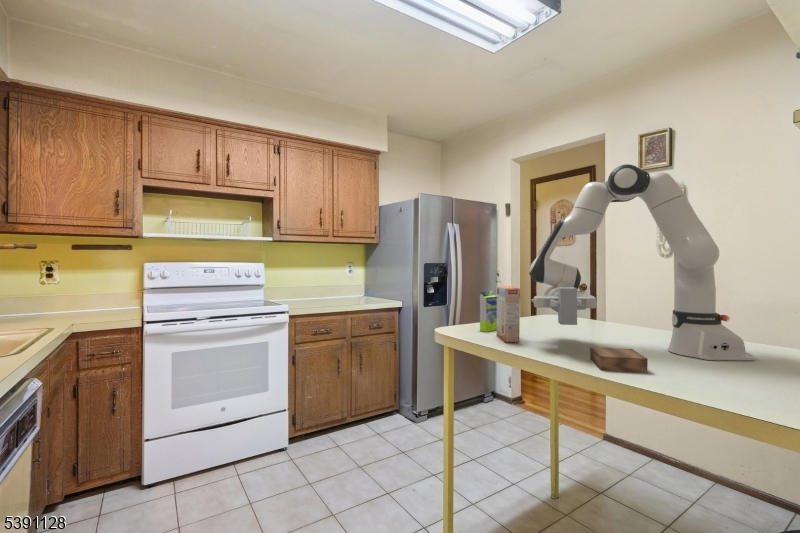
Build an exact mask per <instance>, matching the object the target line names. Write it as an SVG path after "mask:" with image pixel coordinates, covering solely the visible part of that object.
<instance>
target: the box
mask: <svg viewBox="0 0 800 533" xmlns="http://www.w3.org/2000/svg"><path fill="white" fill-rule="evenodd" d="M493 331H497V294H496V295H494V290H489V291H488V290H487V291H479V332H485V333H487V332H493Z"/></svg>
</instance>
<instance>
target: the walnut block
mask: <svg viewBox="0 0 800 533" xmlns="http://www.w3.org/2000/svg"><path fill="white" fill-rule="evenodd" d="M589 360H590V361H591V362H592V363H593V364H594V365H595V366H596V367H597V368H598V369H599V371H607V372H626V373H627V372H628V373H642V374H648V358H647V357H646V356H644V355H643V354H641V353H639V352H638V351H637V350H634V349H633V348H623V347H621V348H620V347H600V346H599V347H598V346H589Z"/></svg>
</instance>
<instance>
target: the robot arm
mask: <svg viewBox="0 0 800 533" xmlns="http://www.w3.org/2000/svg"><path fill="white" fill-rule="evenodd" d="M635 198H640V199H641V200H642V201H643V202H644V203H645V205H646V207H647V209H648V210H649V212H650V214H651V215H652V216H651V217H653V218H652V219H653V221H654V222H655V223H656V226H657V227H658V229H659V231H660V233H661V234H662V235H663V238H665V241H666V243H667V244H668V246H669V248H670V249H671V251H672V253H673V280H674V282H673V284H674V291H673V292H674V298H673V299H674V301H673V302H674V303H673V305H674V307H673V310H672V315H671V322H672V324H671V325H672V334H671V338H670V342H669V345H668V348H667V351H668V352H670V353H673V354H676V355H681V356H685V357H690V358H697V359H701V360H706V361H755V360H756V357H755V356H754V354H751V353H749V352H746V346H745V342H744V340H743V338H742V337H741V336H739V335H738V334H737V333H735V332H733V331H732V330H730V329H729V328H728V327H727V326H725V325H724V324H723V322H726V323H727V322H729V321H730V320H731V319H730V316H728V315H726V314H719V313H717V312H716V308H717V307H716V306H717V305H716V303H717V296H716V295H717V287H716V279H715V267H714V265H715V264H716V263H717V262H718V260H719V257H720V249H719V247H718V245H717V243H716V241H715V240H714V238H713V237H712V235H711V234H710V232H709V231H708V230H707V228H706V226H705V225H704V223H703V222H702V221H701V220H700V218H699V216H698V215H697V213H696V212H695V210H694V208H693V206H692V205H691V203H690V201H689V200H688V198H687V196H686V195H685V193H684V191H683V189H682V188H681V186H680V185H679V184H678V182H677V181H676V180H675V179H674V178H673V177H672V175H670V174H669V173H667V172H664V171H663V172H656V173H652V174H651V175H650V173H649V172H647V171H645V170H644V169H642V168H640V167H638V166H635V165H633V164H622V165H619V166H617V167H615V168H614V169H613V170H612V171H611V172H610V173H609V175H608V178H607V180H606V181H603V182H600V181H590V182H588V183H586V184H585V185H584V186H583V187H582V189H581V191H580V193H579V194H578V196H577V198H576V200H575V203H574V205H573V207H572V210H571V212H570V213H569V214H568V215H567V217H565V218H560V220H559V221H558V222H557V223H555V226H554V227H553V229H552V231H551V232H550V234H549V236H548V237H547V239H546V241H545V242H544V244H543V246H542V247H541V249H540V250H539V253H538V254H537V256H536V257H535V259H534V260H533V261H532V262H531V264H530V267H529V271H528V274H529V276H530V278H531V279H532V281H533V282H535V283H540V284H545V285H547V286H550V287H548V288H546V289H545V291H544V293H543V295H535V296H534V297H533V298H532V299H531V300H530V301H531V303H533V306H534V308H542V309H543V308H545V309H548V308H549V309H551V310H553V311H555V312H557V313H558V307H560V305H559V304H560V302H559V301H558V287H574V288H577V311H582V310H587V309H596V308H597V298H596V297H595V296H593V295H592V294H588V293H587V291H582V290H578V289H579V287H580V284H581V282H582V276H581V272H580V270H579V268H578V267H576V266H573V265H571V264H567V263H564V262H560V261H556V260H553V259H551V256H552V254H553V252H554V250H555V249H556V248H557V246H558V243H559V242H560V241H561V239H563V238H565V237H568V236H580V235H589V234H591V233H594V232H595V231H596V230H598V229H599V228H600V225H601V224H602V222H603V219H604V217H605V215H606V212H607V210H608V208H609V205H610V204H611V203H624V202H629V201H632V200H633V199H635ZM722 321H723V322H722Z"/></svg>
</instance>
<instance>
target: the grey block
mask: <svg viewBox="0 0 800 533" xmlns="http://www.w3.org/2000/svg"><path fill="white" fill-rule="evenodd" d="M577 291H578V290H577V288H574V287H558V301H559V302H560V304H559V305H560V307H558V312H557V322H558V323H559V325H561V326H565V325H566V326H578V310H577Z"/></svg>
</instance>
